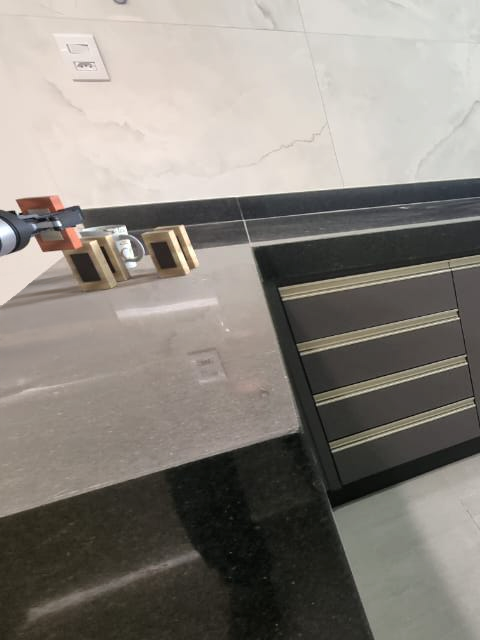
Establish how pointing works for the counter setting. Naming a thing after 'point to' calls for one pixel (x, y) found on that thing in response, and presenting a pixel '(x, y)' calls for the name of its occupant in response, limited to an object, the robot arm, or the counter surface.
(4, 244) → the robot arm
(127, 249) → the mug
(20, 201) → the orange picture frame
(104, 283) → the tan photo frame
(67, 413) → the counter surface
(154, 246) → the wooden picture frame
